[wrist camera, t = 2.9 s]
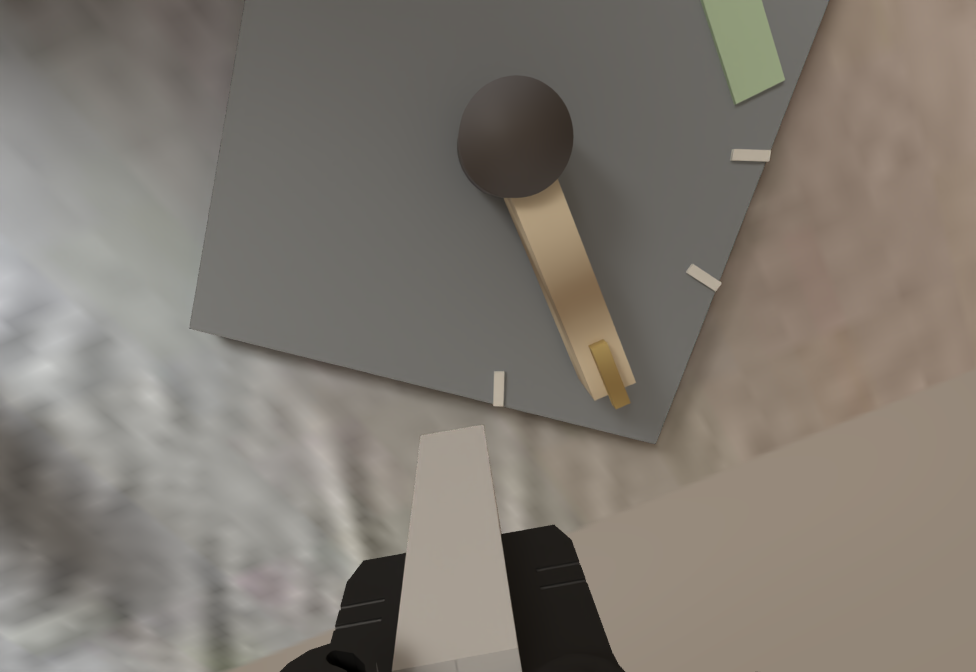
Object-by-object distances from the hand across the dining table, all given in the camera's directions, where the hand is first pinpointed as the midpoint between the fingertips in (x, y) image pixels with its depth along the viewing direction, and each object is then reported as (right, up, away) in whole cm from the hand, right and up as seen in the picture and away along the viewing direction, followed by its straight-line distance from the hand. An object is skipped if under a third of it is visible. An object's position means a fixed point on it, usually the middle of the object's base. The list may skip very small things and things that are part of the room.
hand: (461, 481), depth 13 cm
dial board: (+1, +12, +13) cm, 18 cm away
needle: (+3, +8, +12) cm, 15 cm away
